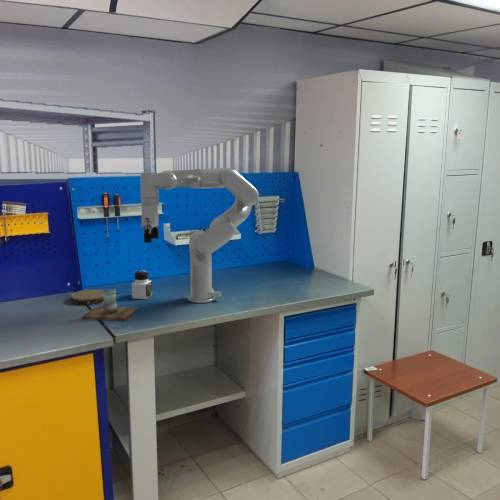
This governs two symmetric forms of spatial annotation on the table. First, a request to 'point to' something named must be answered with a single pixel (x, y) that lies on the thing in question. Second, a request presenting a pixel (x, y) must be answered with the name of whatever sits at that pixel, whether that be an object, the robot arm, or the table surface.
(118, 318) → the stud board
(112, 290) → the cap
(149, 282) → the medicine bottle
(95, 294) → the wood slice
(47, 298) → the table surface
